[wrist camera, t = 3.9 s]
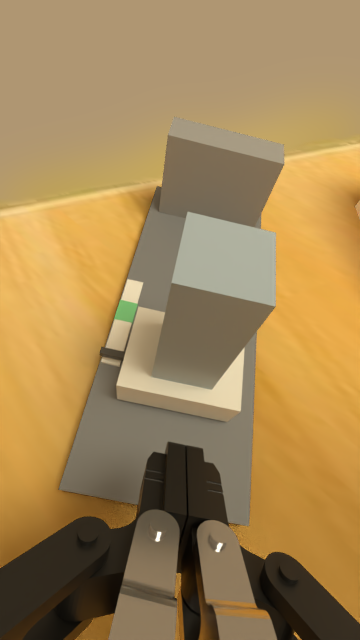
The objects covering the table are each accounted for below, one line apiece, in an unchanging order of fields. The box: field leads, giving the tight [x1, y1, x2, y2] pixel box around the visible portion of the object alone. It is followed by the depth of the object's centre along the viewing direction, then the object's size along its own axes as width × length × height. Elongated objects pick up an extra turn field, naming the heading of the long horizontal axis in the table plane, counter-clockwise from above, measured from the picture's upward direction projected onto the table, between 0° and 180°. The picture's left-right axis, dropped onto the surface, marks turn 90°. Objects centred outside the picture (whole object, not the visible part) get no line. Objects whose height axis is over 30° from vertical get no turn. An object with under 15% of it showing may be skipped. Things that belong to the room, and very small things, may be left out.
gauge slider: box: [100, 212, 276, 422], centre depth 20 cm, size 10×14×13 cm
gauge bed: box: [58, 117, 284, 526], centre depth 24 cm, size 12×30×10 cm, turn 170°
